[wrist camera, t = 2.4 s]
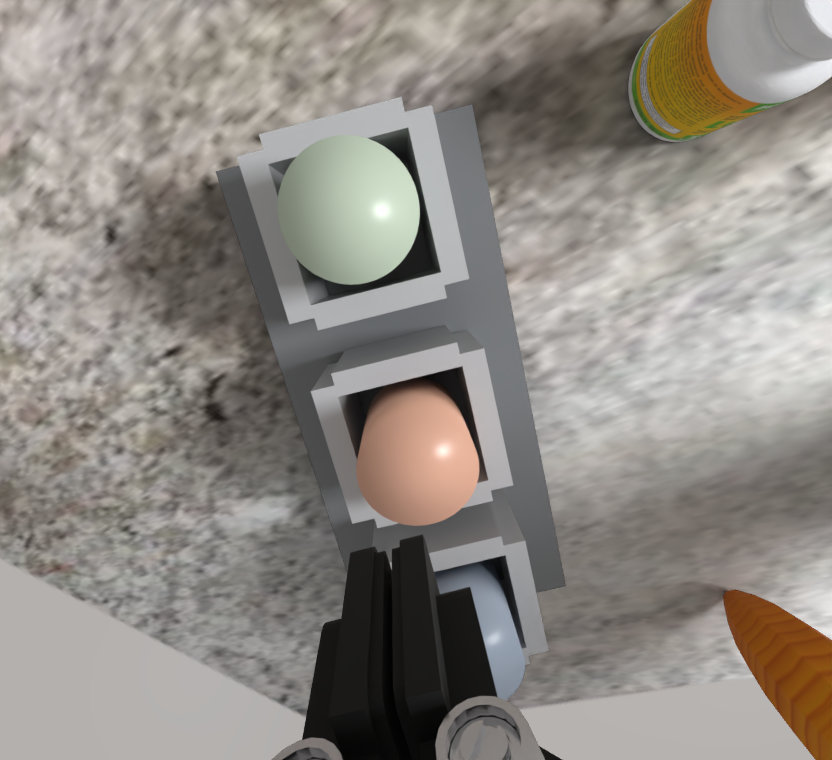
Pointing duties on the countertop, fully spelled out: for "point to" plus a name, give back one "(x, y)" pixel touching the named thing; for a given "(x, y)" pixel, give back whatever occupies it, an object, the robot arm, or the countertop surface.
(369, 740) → the robot arm
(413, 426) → the button terracotta
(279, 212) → the button sage
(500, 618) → the button slate
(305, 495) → the countertop surface
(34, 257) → the countertop surface
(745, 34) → the supplement bottle
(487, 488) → the three-cup grey tray
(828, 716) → the carrot
